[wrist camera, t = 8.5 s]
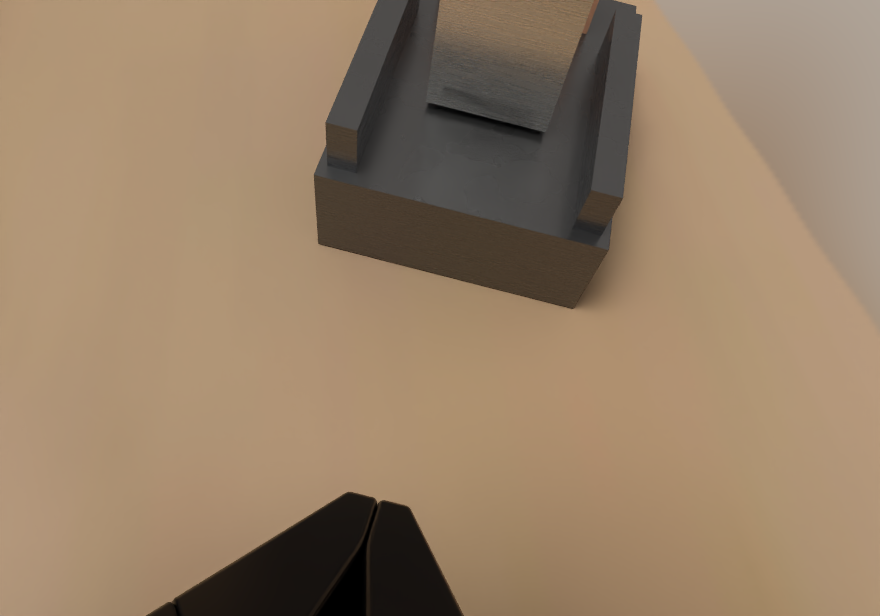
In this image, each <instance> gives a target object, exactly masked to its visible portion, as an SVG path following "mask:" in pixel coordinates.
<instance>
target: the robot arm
mask: <svg viewBox="0 0 880 616" xmlns="http://www.w3.org/2000/svg"><path fill="white" fill-rule="evenodd" d="M146 616H464V615H463V613H462V611H461V609H460V607H459V605H458V603H457V601H456V599H455V597H454V595H453V593H452V591H451V589H450V587H449V585H448V583H447V581H446V579H445V577H444V575H443V573H442V571H441V569H440V567H439V565H438V563H437V561H436V559H435V557H434V555H433V553H432V551H431V549H430V547H429V545H428V543H427V541H426V539H425V537H424V535H423V533H422V531H421V529H420V527H419V525H418V523H417V521H416V519H415V517H414V515H413V513H412V511H411V509H410V508H409V507H408V506H405V505H401V504H397V503H393V502H389V501H385V500H382V501H380V502H379V503H378V505H377V501H376V499H375V498H373V497H369V496H365V495H361V494H357V493H353V492H347V493H345V494H343V495H341V496H340V497H338V498H337V499H335V500H333V501H332V502H330V503H328V504H327V505H325V506H324V507H322V508H320V509H319V510H317V511H315V512H314V513H312V514H311V515H309V516H307V517H306V518H304V519H302V520H301V521H299V522H298V523H296V524H294V525H293V526H291V527H289V528H288V529H286V530H285V531H283V532H281V533H280V534H278V535H277V536H275V537H273V538H272V539H270V540H268V541H267V542H265V543H264V544H262V545H260V546H259V547H257V548H255V549H254V550H252V551H251V552H249V553H247V554H246V555H244V556H242V557H241V558H239V559H238V560H236V561H234V562H233V563H231V564H230V565H228V566H226V567H225V568H223V569H221V570H220V571H218V572H217V573H215V574H213V575H212V576H210V577H208V578H207V579H205V580H204V581H202V582H200V583H199V584H197V585H195V586H194V587H192V588H191V589H189V590H187V591H186V592H184V593H182V594H181V595H179V596H178V597H176V598H175V599H174V600H173V601H172V602H168V603H166V604H164V605H163V606H161V607H159V608H158V609H156V610H154V611H153V612H151V613H150V614H148V615H146Z"/></svg>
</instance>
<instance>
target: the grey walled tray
mask: <svg viewBox="0 0 880 616" xmlns="http://www.w3.org/2000/svg"><path fill="white" fill-rule="evenodd" d="M439 3H440V0H378V1H377V4H376V6H375V8H374V11H373V13H372V15H371V18H370V20H369V22H368V25H367V27H366V29H365V32H364V34H363V36H362V39H361V41H360V43H359V46H358V48H357V50H356V53H355V55H354V57H353V60H352V62H351V64H350V67H349V69H348V71H347V74H346V76H345V78H344V81H343V83H342V85H341V88H340V90H339V92H338V95H337V97H336V99H335V102H334V104H333V106H332V109H331V111H330V113H329V116H328V118H327V120H326V147H325V149H324V152H323V154H322V157H321V159H320V161H319V164H318V166H317V168H316V171H315V173H314V185H315V200H316V215H317V230H318V244H322V245H326V246H330V247H334V248H338V249H342V250H345V251H349V252H353V253H357V254H361V255H365V256H369V257H373V258H377V259H381V260H385V261H388V262H392V263H396V264H400V265H404V266H408V267H412V268H416V269H420V270H424V271H428V272H432V273H435V274H439V275H443V276H447V277H451V278H455V279H459V280H463V281H467V282H471V283H475V284H479V285H482V286H486V287H490V288H494V289H498V290H502V291H506V292H510V293H514V294H518V295H522V296H525V297H529V298H533V299H537V300H541V301H545V302H549V303H553V304H557V305H561V306H565V307H569V308H572V309H573V308H574V306H575V304H576V303H577V301H578V299H579V298H580V296H581V295H582V293H583V291H584V290H585V288H586V286H587V285H588V283H589V281H590V280H591V278H592V276H593V275H594V273H595V272H596V270H597V268H598V267H599V265H600V263H601V262H602V260H603V258H604V257H605V255H606V254H607V252H608V250H609V243H610V234H611V225H612V216H613V214H614V213H615V211H616V209H617V208H618V206H619V204H620V202H621V201H622V199H623V192H624V182H625V173H626V164H627V154H628V145H629V135H630V126H631V116H632V107H633V97H634V88H635V78H636V69H637V59H638V50H639V40H640V31H641V21H642V15H640V14H636V6H634V5H630V4H626V3H622V2H618V1H614V0H599V2H598V5H597V7H596V10H595V13H594V15H593V18H592V21H591V23H590V26H589V29H588V31H587V34H584V33H582V34H581V37H580V40H579V43H578V45H577V48H576V51H575V54H574V56H573V59H572V62H571V65H570V67H569V70H568V73H567V76H566V78H565V81H564V84H563V87H562V89H561V92H560V95H559V98H558V100H557V103H556V106H555V109H554V111H553V114H552V117H551V120H550V122H549V125H548V128H547V131H546V132H542V131H539V130H535V129H531V128H527V127H523V126H519V125H515V124H511V123H507V122H503V121H499V120H495V119H491V118H488V117H484V116H480V115H476V114H472V113H468V112H464V111H460V110H456V109H452V108H448V107H444V106H440V105H437V104H433V103H429V102H426V98H427V91H428V84H429V76H430V69H431V62H432V54H433V47H434V40H435V33H436V25H437V18H438V11H439Z"/></svg>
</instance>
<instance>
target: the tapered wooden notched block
mask: <svg viewBox="0 0 880 616" xmlns="http://www.w3.org/2000/svg"><path fill="white" fill-rule="evenodd" d="M593 1H594V0H440V3H439V11H438V18H437V25H436V33H435V40H434V47H433V54H432V62H431V69H430V76H429V84H428V91H427V98H426V102H429V103H433V104H437V105H440V106H444V107H448V108H452V109H456V110H460V111H464V112H468V113H472V114H476V115H480V116H484V117H488V118H491V119H495V120H499V121H503V122H507V123H511V124H515V125H519V126H523V127H527V128H531V129H535V130H539V131H542V132H546V131H547V128H548V125H549V122H550V120H551V117H552V114H553V111H554V109H555V106H556V103H557V100H558V98H559V95H560V92H561V89H562V87H563V84H564V81H565V78H566V76H567V73H568V70H569V67H570V65H571V62H572V59H573V56H574V54H575V51H576V48H577V45H578V43H579V40H580V37H581V34H582V32H583V29H584V26H585V23H586V21H587V18H588V15H589V12H590V10H591V7H592V4H593Z"/></svg>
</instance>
